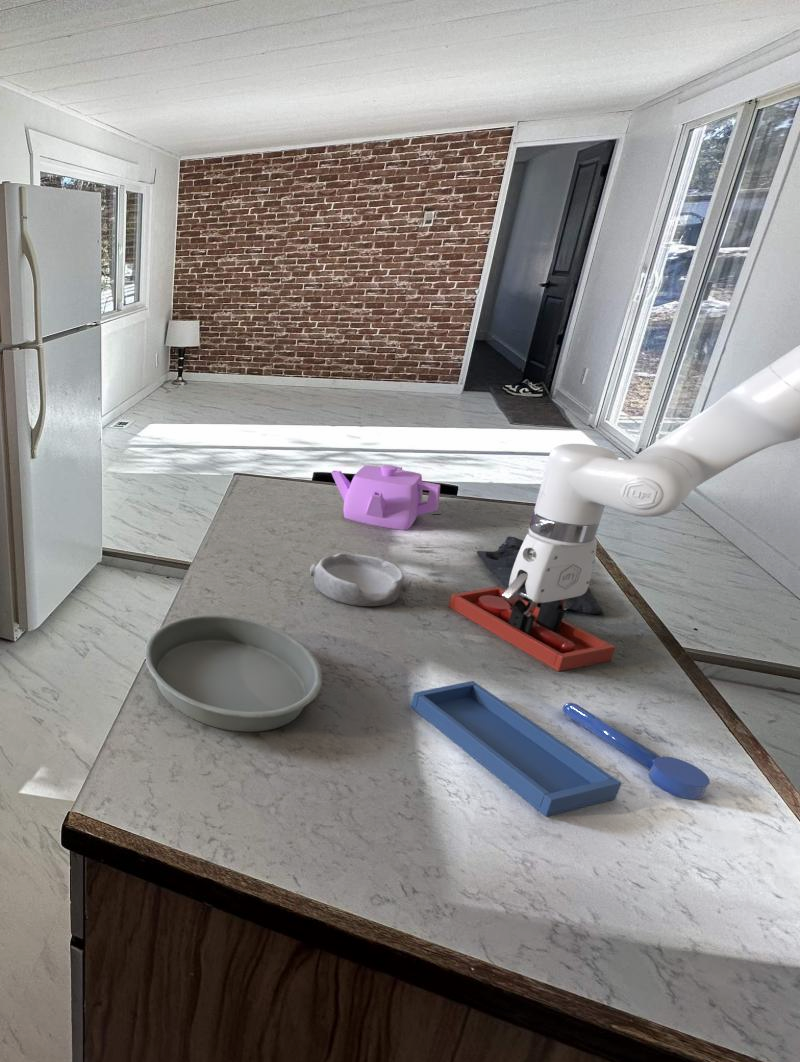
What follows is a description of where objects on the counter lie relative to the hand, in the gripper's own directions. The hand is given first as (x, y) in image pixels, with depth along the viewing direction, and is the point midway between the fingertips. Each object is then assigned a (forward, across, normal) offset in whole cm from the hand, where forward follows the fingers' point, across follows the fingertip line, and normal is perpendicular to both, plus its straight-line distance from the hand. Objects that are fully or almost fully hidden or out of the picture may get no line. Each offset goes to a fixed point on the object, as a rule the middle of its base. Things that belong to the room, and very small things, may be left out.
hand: (532, 629), depth 102 cm
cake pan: (+1, -52, +2) cm, 52 cm away
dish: (+1, -16, +20) cm, 26 cm away
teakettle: (+1, +12, +47) cm, 49 cm away
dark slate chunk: (+1, +16, +13) cm, 21 cm away
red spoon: (+1, 0, +1) cm, 1 cm away
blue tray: (+1, -26, -19) cm, 32 cm away
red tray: (+1, 0, +1) cm, 2 cm away
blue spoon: (+1, -13, -23) cm, 26 cm away
